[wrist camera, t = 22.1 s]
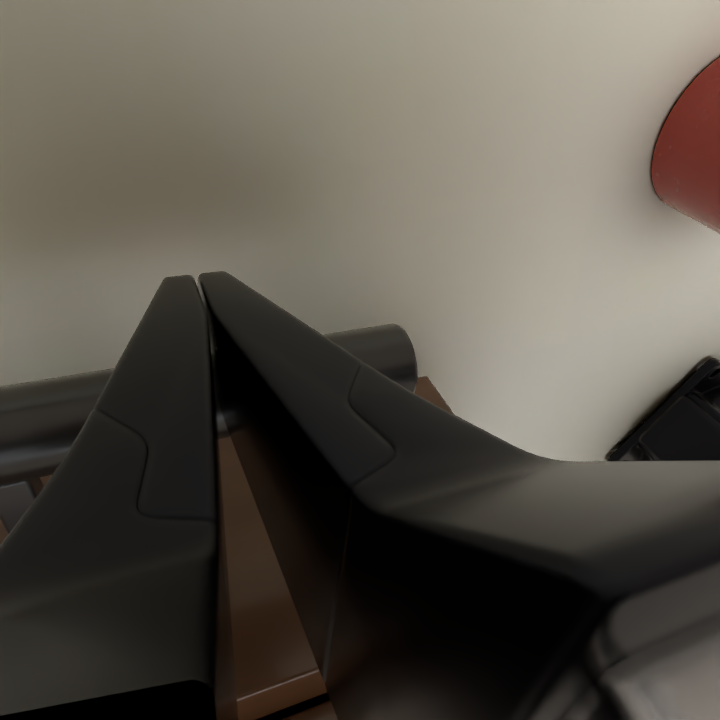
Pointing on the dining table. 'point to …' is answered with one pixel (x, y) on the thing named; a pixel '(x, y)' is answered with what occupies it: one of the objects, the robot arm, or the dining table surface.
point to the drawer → (241, 516)
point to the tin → (692, 151)
